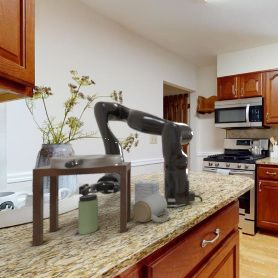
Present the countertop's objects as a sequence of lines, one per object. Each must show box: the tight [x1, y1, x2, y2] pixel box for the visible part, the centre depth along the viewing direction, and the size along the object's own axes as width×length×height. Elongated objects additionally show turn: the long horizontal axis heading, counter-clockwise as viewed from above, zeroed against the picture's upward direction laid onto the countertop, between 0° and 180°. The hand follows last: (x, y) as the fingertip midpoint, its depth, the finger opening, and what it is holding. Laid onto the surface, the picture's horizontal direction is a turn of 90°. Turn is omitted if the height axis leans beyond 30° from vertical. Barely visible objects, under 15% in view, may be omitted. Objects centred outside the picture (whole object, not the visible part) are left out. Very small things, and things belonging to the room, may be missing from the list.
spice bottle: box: [77, 193, 99, 235], centre depth 59 cm, size 4×4×10 cm
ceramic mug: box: [132, 192, 171, 223], centre depth 68 cm, size 11×8×8 cm
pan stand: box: [32, 154, 132, 247], centre depth 56 cm, size 20×23×21 cm
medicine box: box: [134, 181, 160, 205], centre depth 84 cm, size 8×4×9 cm, turn 84°
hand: (99, 191), depth 70 cm, fingers open, 8 cm apart
